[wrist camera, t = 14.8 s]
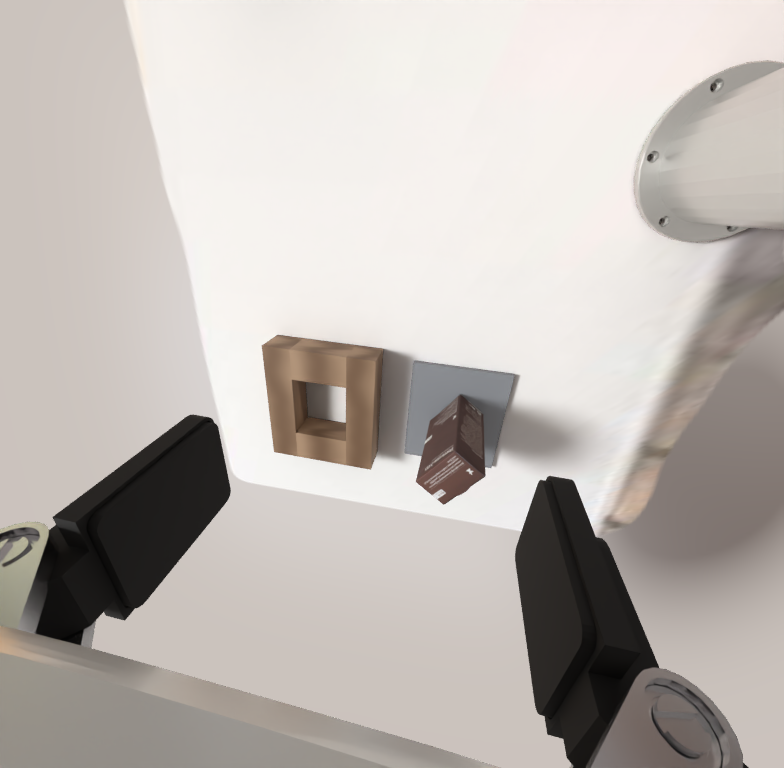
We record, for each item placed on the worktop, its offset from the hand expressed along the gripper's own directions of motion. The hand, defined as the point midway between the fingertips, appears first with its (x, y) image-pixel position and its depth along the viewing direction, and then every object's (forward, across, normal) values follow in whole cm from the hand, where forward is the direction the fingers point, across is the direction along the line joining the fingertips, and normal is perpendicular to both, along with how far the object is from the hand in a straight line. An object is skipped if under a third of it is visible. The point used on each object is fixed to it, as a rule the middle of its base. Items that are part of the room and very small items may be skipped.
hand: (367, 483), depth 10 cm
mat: (+32, -4, +17) cm, 37 cm away
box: (+32, -4, +17) cm, 36 cm away
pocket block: (+32, +13, +17) cm, 39 cm away
